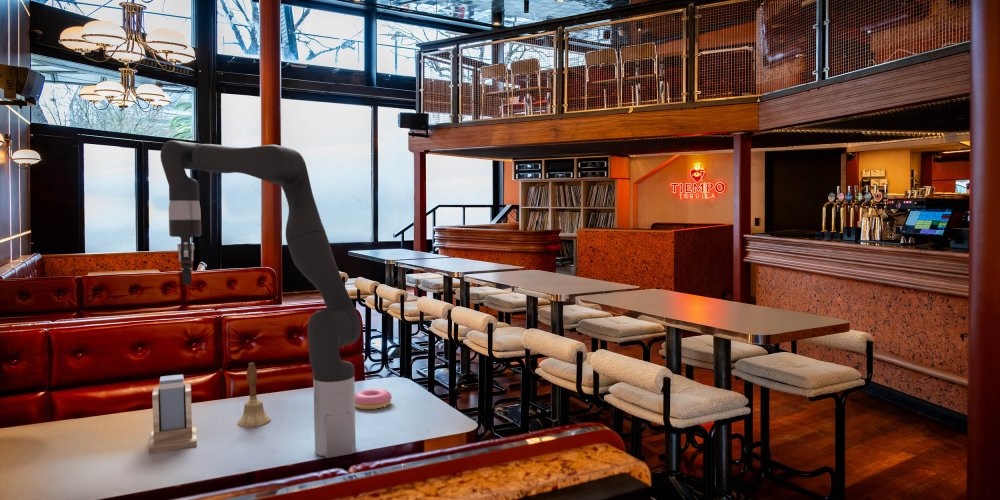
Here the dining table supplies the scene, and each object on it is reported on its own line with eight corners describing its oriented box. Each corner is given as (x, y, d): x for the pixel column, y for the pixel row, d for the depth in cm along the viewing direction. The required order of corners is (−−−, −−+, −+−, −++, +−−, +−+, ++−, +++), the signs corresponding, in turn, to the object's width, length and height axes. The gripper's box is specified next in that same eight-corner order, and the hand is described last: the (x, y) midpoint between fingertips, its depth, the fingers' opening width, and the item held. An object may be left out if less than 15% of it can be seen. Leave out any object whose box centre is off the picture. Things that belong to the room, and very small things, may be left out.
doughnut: (365, 414, 177) (365, 399, 177) (346, 405, 185) (345, 391, 185) (399, 406, 184) (398, 391, 184) (378, 398, 192) (378, 384, 192)
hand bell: (248, 429, 164) (246, 368, 163) (231, 423, 169) (229, 363, 168) (277, 421, 171) (275, 362, 170) (259, 415, 176) (257, 358, 175)
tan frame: (196, 445, 152) (195, 393, 152) (149, 453, 148) (147, 399, 147) (195, 428, 165) (194, 380, 164) (151, 434, 160) (150, 385, 160)
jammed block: (185, 435, 155) (183, 378, 154) (161, 439, 153) (159, 381, 152) (185, 429, 160) (183, 374, 159) (162, 432, 157) (160, 376, 157)
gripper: (201, 218, 163) (203, 285, 164) (200, 218, 175) (202, 281, 175) (168, 218, 159) (170, 287, 160) (169, 218, 171) (171, 282, 172)
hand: (187, 284), depth 168 cm, fingers closed
